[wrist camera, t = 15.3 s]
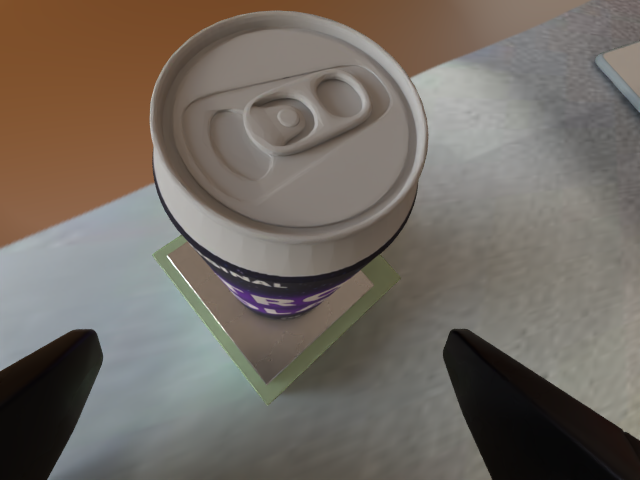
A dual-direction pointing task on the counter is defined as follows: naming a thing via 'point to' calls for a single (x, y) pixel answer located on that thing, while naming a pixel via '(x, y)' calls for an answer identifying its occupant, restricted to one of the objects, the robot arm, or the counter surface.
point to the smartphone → (623, 70)
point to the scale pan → (260, 332)
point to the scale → (382, 280)
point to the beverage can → (286, 154)
